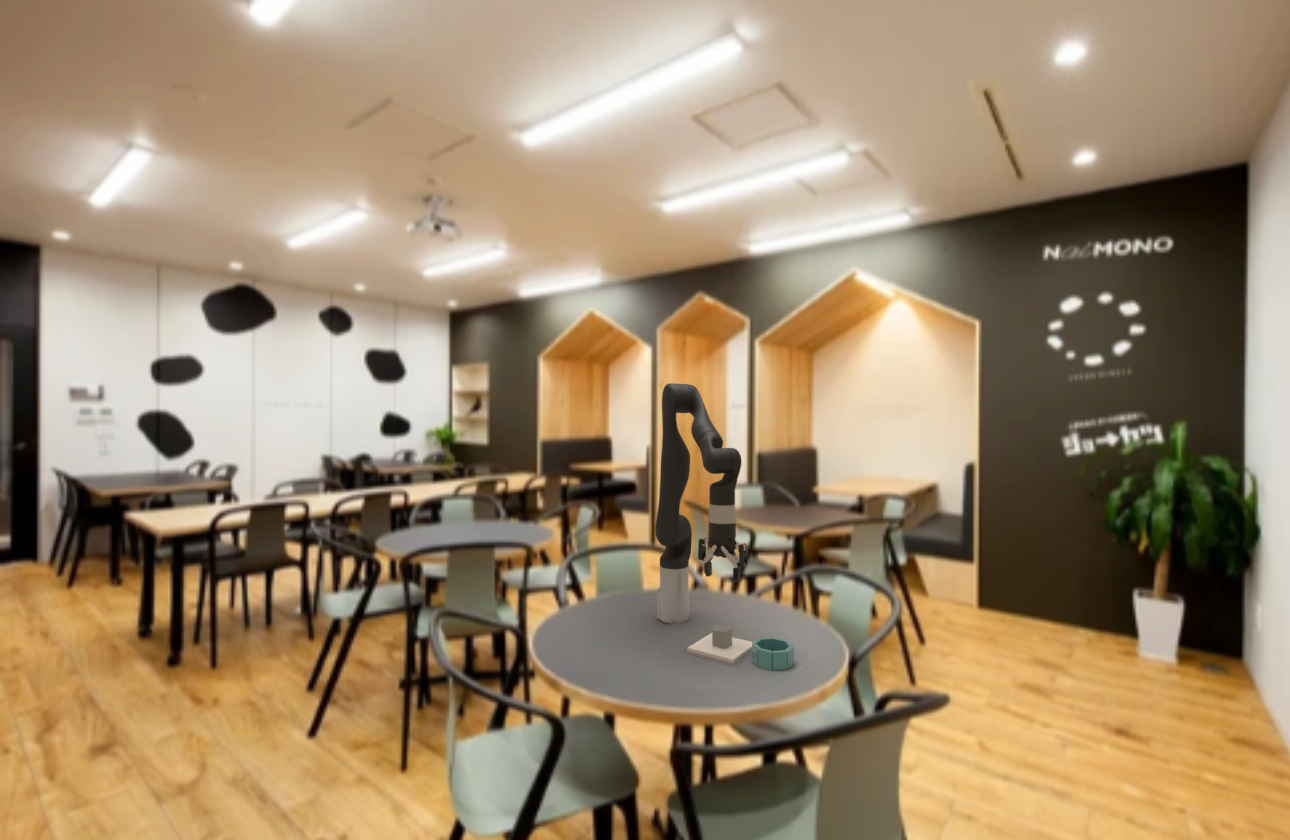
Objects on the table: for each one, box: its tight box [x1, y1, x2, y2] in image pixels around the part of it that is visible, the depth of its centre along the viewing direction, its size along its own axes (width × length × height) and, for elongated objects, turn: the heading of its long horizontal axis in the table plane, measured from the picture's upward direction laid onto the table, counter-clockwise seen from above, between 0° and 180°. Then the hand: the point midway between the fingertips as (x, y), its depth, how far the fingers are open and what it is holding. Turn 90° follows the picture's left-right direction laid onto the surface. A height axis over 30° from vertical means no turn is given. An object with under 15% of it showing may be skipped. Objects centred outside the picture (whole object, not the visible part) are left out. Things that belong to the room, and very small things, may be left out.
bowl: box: [751, 637, 795, 671], centre depth 160 cm, size 10×10×5 cm
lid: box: [686, 625, 754, 663], centre depth 169 cm, size 14×14×6 cm
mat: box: [679, 632, 752, 668], centre depth 169 cm, size 17×17×1 cm
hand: (722, 578), depth 169 cm, fingers open, 8 cm apart
